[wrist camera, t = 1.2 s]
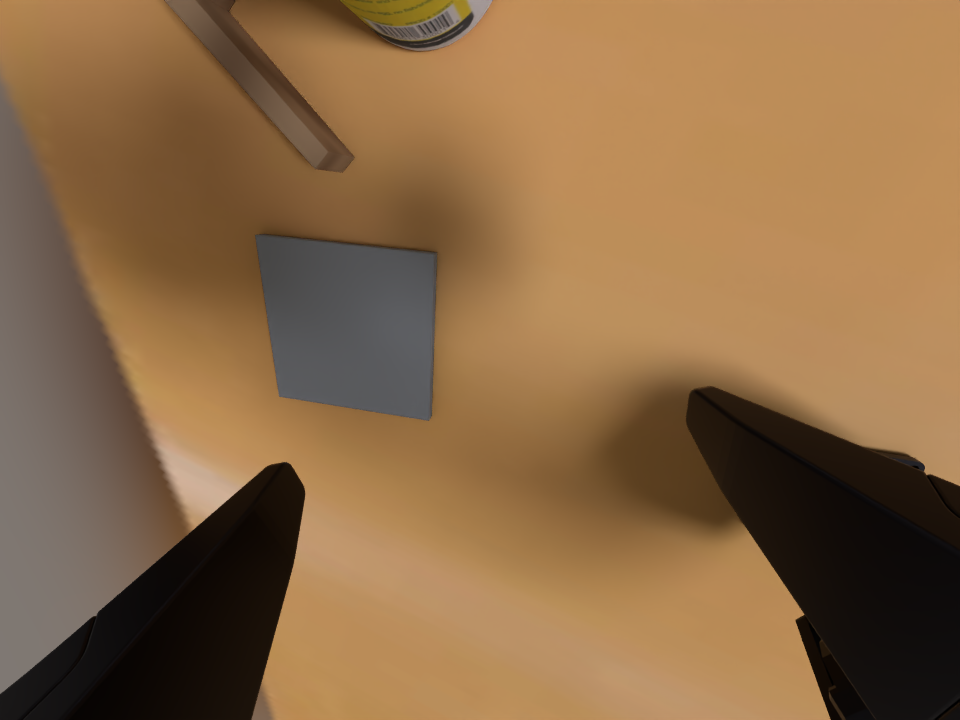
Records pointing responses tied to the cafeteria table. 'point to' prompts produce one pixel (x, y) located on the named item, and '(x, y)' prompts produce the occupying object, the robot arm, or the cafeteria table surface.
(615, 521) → the cafeteria table surface
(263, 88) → the u-shaped wooden frame
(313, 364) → the pad
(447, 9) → the supplement bottle
